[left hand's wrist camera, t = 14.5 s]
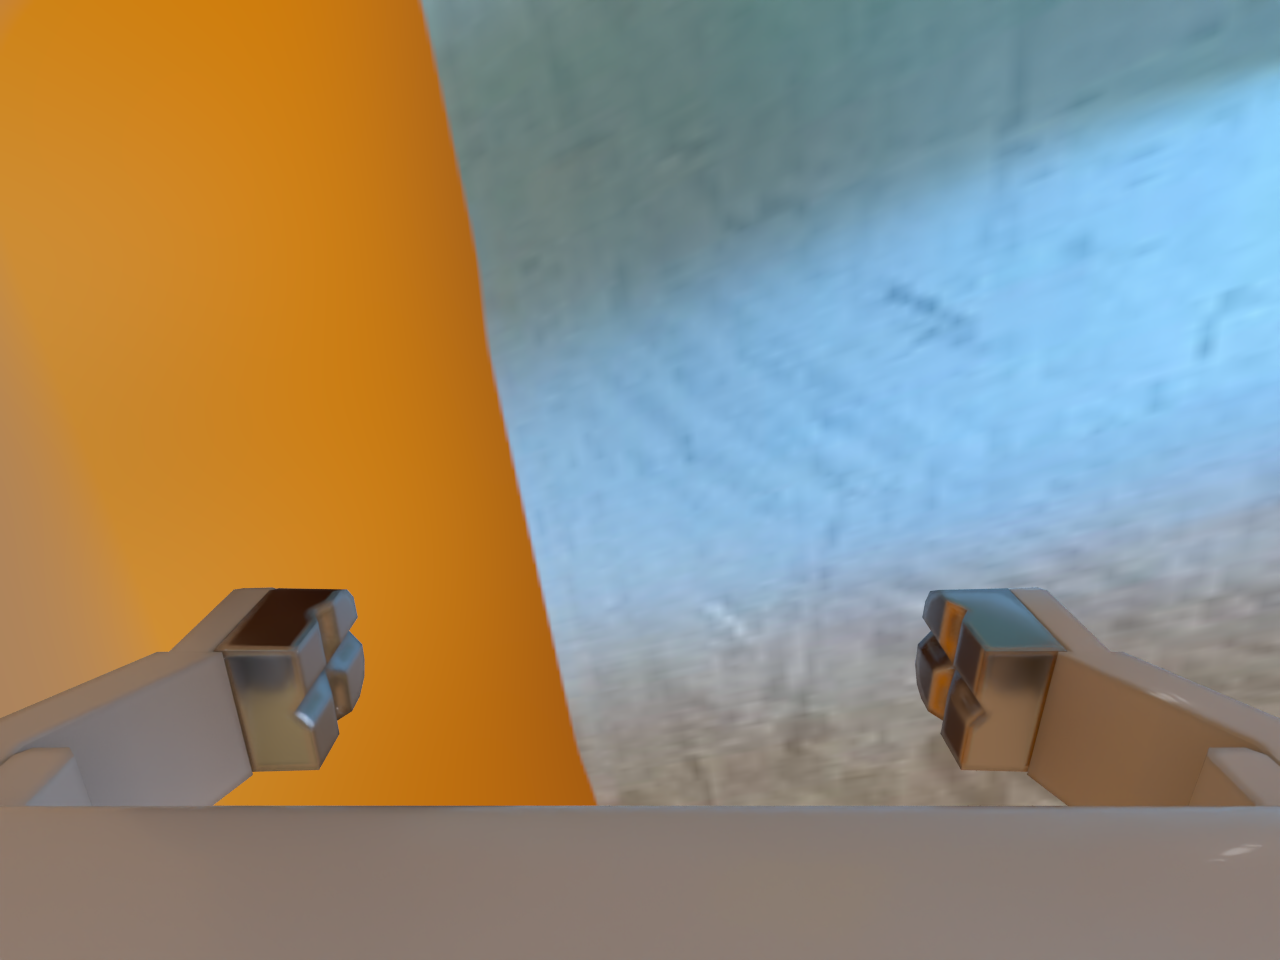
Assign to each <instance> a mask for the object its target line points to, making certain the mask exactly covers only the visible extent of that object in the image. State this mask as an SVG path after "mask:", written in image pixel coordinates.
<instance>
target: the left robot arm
mask: <svg viewBox="0 0 1280 960" xmlns="http://www.w3.org/2000/svg"><path fill="white" fill-rule="evenodd" d="M356 619H357V612H356V607H355V603H354V598H353V596H352V595H351V594H350V593H349V591H348V590H340V589H287V588H278V589H275V588H242V589H235V590H233V591H232V592H231V593H230V594H229V595H228V596H227V597H226V598H225V599H224V600H223V601H222V602H221V603H219V604H218V605H217V606H216V607H215V608H214V609H213V610H212V611H211V612H210V613H209V614H208V615H207V616H206V617H205V618H204V619H203V620H202V621H201V622H200V623H199V624H198V625H197V626H196V627H194V628H193V629H192V630H191V631H190V632H189V633H188V634H187V635H186V636H185V637H184V638H183V639H182V640H181V641H180V642H179V643H178V644H177V645H176V646H175V647H174V648H173V649H172V650H171V651H169V652H156V653H154V654H151V655H149V656H146V657H144V658H142V659H139V660H137V661H135V662H132V663H130V664H128V665H125V666H123V667H120V668H118V669H116V670H113V671H111V672H109V673H106V674H104V675H102V676H99V677H97V678H95V679H92V680H90V681H87V682H85V683H83V684H80V685H78V686H76V687H73V688H71V689H69V690H66V691H64V692H61V693H59V694H57V695H54V696H52V697H50V698H47V699H45V700H43V701H40V702H38V703H35V704H33V705H31V706H28V707H26V708H24V709H21V710H19V711H17V712H14V713H12V714H10V715H7V716H5V717H2V718H0V960H1280V718H1277V717H1275V716H1272V715H1270V714H1268V713H1265V712H1263V711H1261V710H1258V709H1256V708H1254V707H1251V706H1249V705H1247V704H1244V703H1242V702H1240V701H1237V700H1235V699H1232V698H1230V697H1228V696H1225V695H1223V694H1221V693H1218V692H1216V691H1214V690H1211V689H1209V688H1207V687H1204V686H1202V685H1199V684H1197V683H1195V682H1192V681H1190V680H1188V679H1185V678H1183V677H1181V676H1178V675H1176V674H1174V673H1171V672H1169V671H1166V670H1164V669H1162V668H1159V667H1157V666H1155V665H1152V664H1150V663H1148V662H1145V661H1143V660H1141V659H1138V658H1136V657H1134V656H1131V655H1129V654H1126V653H1124V652H1111V651H1110V650H1108V649H1107V648H1106V647H1105V646H1104V645H1103V644H1102V643H1101V642H1100V641H1099V640H1098V639H1097V638H1096V637H1095V636H1094V635H1093V634H1092V633H1091V632H1090V631H1089V630H1088V629H1087V628H1086V627H1085V626H1084V625H1083V624H1081V623H1080V622H1079V621H1078V620H1077V619H1076V618H1075V617H1074V616H1073V615H1072V614H1071V613H1070V612H1069V611H1068V610H1067V609H1066V608H1065V607H1064V606H1063V605H1062V604H1061V603H1060V602H1059V601H1058V600H1057V599H1056V598H1054V597H1053V596H1052V595H1051V594H1050V593H1049V592H1048V591H1047V590H1044V589H1041V588H1038V587H1036V588H1012V589H1008V588H1005V589H964V590H936V591H930V593H929V595H928V597H927V599H926V601H925V606H924V611H923V619H924V621H925V622H926V624H927V625H928V627H929V628H930V630H931V631H930V633H929V634H928V635H927V636H926V637H925V638H924V639H923V640H922V641H921V642H920V643H919V644H918V648H917V655H916V663H915V668H916V679H917V686H918V689H919V693H920V696H921V699H922V701H923V703H924V704H925V706H926V708H927V710H928V711H929V712H930V713H932V714H933V715H935V716H937V717H938V718H940V719H941V720H943V724H942V729H941V735H942V737H943V739H944V741H945V742H946V744H947V746H948V748H949V749H950V751H951V753H952V755H953V756H954V758H955V760H956V762H957V763H958V765H959V767H960V769H961V770H985V771H1021V772H1028V773H1027V775H1028V776H1030V777H1031V778H1032V779H1034V780H1035V781H1036V782H1038V783H1039V784H1040V785H1042V786H1043V787H1044V788H1045V789H1047V790H1048V791H1049V792H1051V793H1052V794H1053V795H1055V796H1056V797H1057V798H1059V799H1060V800H1061V801H1062V802H1064V803H1065V804H1066V805H1068V806H213V805H214V804H215V803H216V802H218V801H219V800H220V799H222V798H223V797H224V796H225V795H227V794H228V793H230V792H231V791H232V790H234V789H235V788H236V787H237V786H239V785H240V784H241V783H243V782H244V781H245V780H247V779H248V778H249V777H251V776H252V772H257V771H294V770H319V769H320V767H321V765H322V764H323V762H324V760H325V758H326V756H327V755H328V753H329V751H330V749H331V748H332V746H333V744H334V742H335V741H336V739H337V737H338V735H339V729H338V724H337V720H339V719H340V718H342V717H343V716H345V715H347V714H348V713H350V712H351V711H352V710H353V708H354V706H355V704H356V702H357V701H358V698H359V697H360V693H361V688H362V684H363V680H364V654H363V647H362V644H361V643H360V642H359V641H358V640H357V639H356V638H355V637H354V636H353V635H352V634H351V633H350V631H349V630H350V628H351V627H352V625H353V624H354V622H355V621H356Z"/></svg>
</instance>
